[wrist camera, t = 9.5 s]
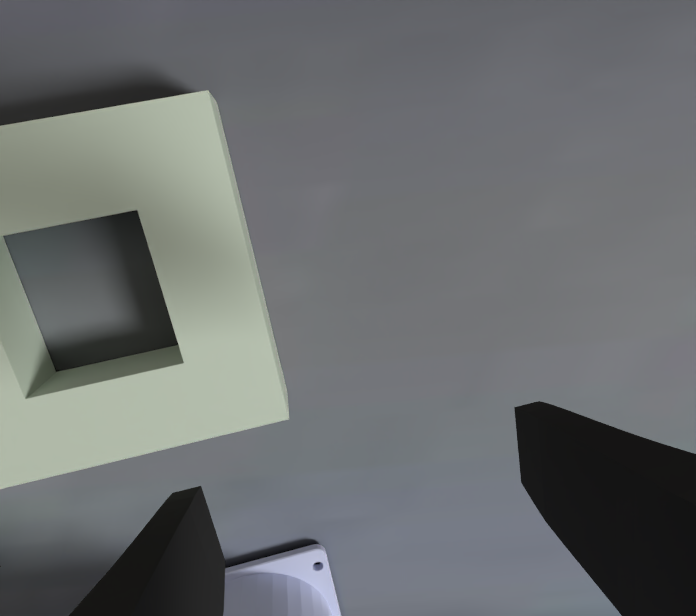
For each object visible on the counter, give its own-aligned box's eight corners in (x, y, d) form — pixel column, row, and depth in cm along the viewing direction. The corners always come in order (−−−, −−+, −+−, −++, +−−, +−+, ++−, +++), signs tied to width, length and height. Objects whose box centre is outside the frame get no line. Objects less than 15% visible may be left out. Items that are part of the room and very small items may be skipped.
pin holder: (287, 391, 21) (289, 419, 18) (4, 459, 20) (-33, 497, 17) (217, 102, 18) (208, 90, 15) (-130, 162, 16) (-199, 159, 14)
